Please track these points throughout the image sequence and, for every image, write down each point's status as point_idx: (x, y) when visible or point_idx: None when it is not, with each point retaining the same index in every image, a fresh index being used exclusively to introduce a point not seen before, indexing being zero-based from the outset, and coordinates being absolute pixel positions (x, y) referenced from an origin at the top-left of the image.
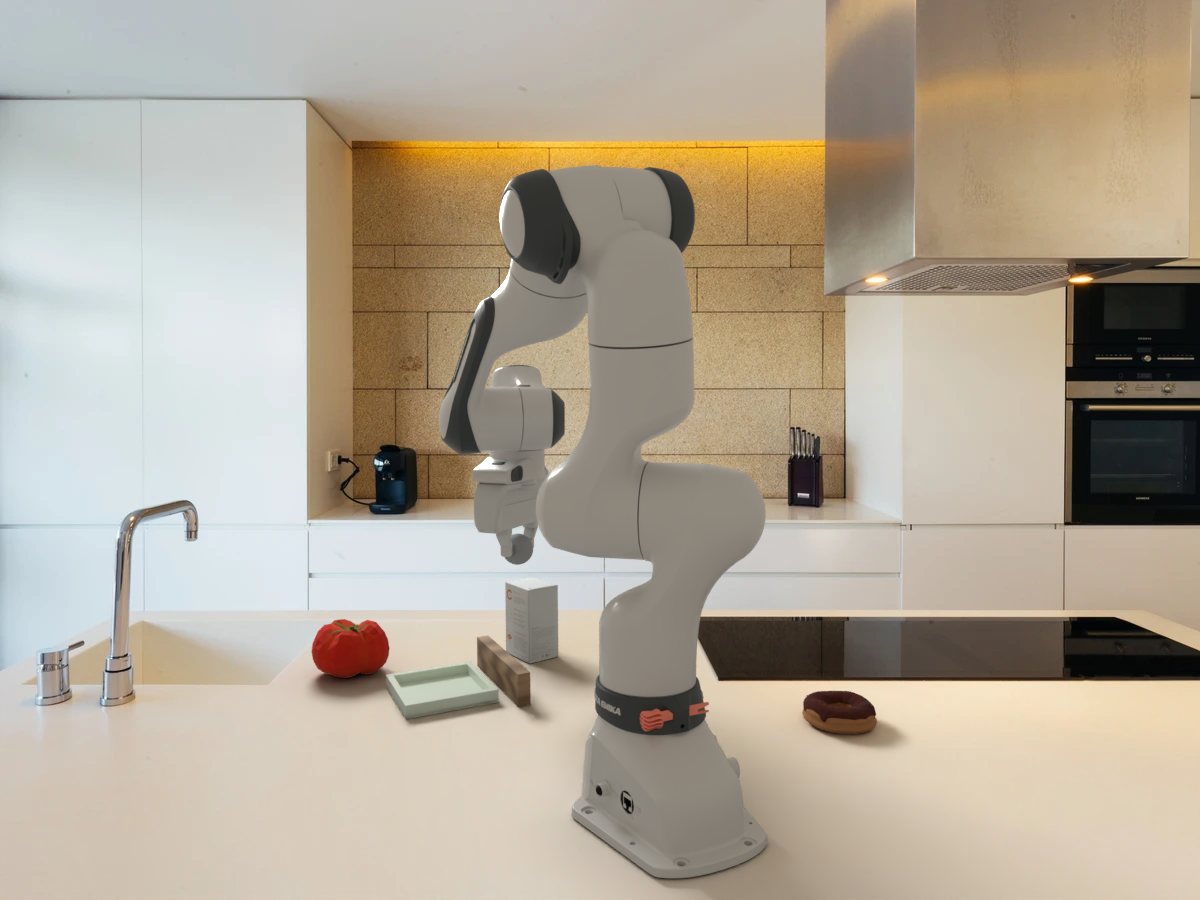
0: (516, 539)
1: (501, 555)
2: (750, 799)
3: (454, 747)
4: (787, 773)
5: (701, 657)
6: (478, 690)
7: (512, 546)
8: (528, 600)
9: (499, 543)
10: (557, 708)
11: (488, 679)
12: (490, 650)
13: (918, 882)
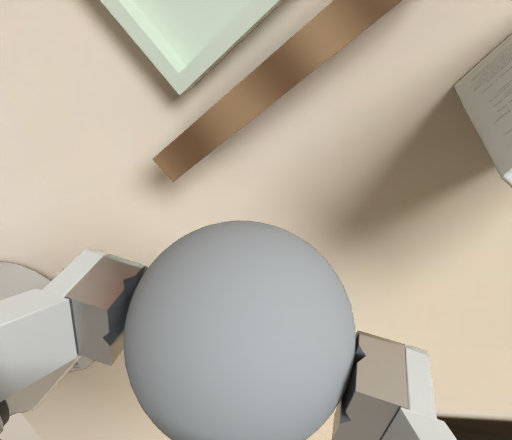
0: (138, 399)
1: (91, 249)
2: (78, 378)
3: (9, 75)
4: (134, 410)
5: (503, 412)
6: (159, 50)
7: (83, 350)
8: (492, 157)
9: (15, 296)
10: (202, 201)
11: (228, 48)
12: (305, 25)
13: (38, 428)
